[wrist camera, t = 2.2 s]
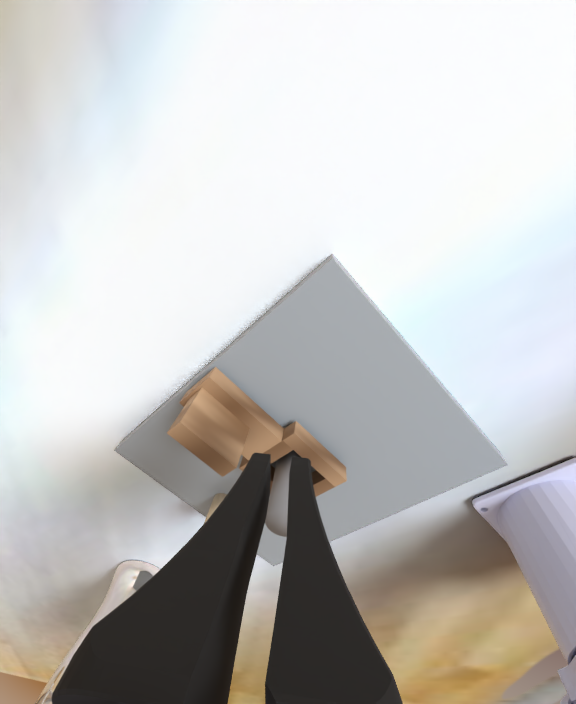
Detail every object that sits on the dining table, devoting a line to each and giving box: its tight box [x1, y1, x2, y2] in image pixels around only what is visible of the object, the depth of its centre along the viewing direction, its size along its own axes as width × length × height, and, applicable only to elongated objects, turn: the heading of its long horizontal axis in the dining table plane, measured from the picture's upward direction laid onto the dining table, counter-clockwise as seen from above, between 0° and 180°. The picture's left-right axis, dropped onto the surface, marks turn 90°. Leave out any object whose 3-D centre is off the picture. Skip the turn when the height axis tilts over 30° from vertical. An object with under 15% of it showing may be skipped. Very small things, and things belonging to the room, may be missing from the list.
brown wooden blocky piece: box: [167, 367, 347, 497], centre depth 20 cm, size 11×5×4 cm, turn 43°
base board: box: [114, 254, 508, 566], centre depth 21 cm, size 18×22×6 cm
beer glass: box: [35, 560, 161, 704], centre depth 29 cm, size 7×7×15 cm
